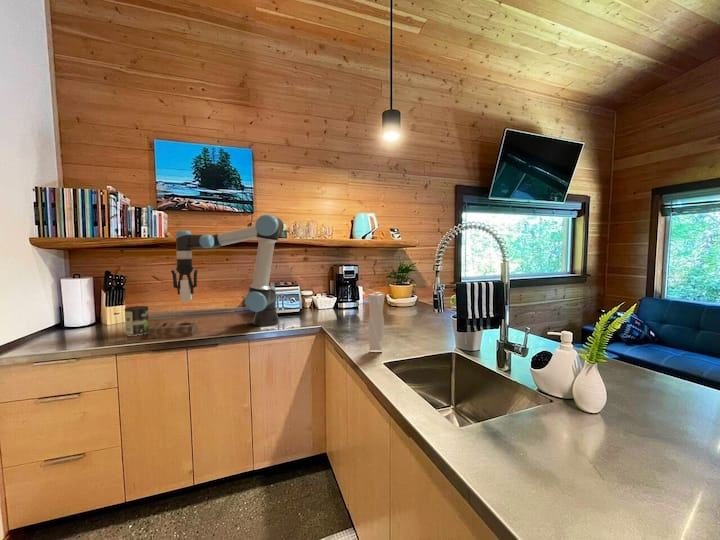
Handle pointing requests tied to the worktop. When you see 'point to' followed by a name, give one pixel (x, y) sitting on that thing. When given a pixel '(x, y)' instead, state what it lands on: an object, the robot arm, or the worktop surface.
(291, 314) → the worktop surface
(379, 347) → the skyscraper
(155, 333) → the socket block
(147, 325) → the coffee can
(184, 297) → the square peg
